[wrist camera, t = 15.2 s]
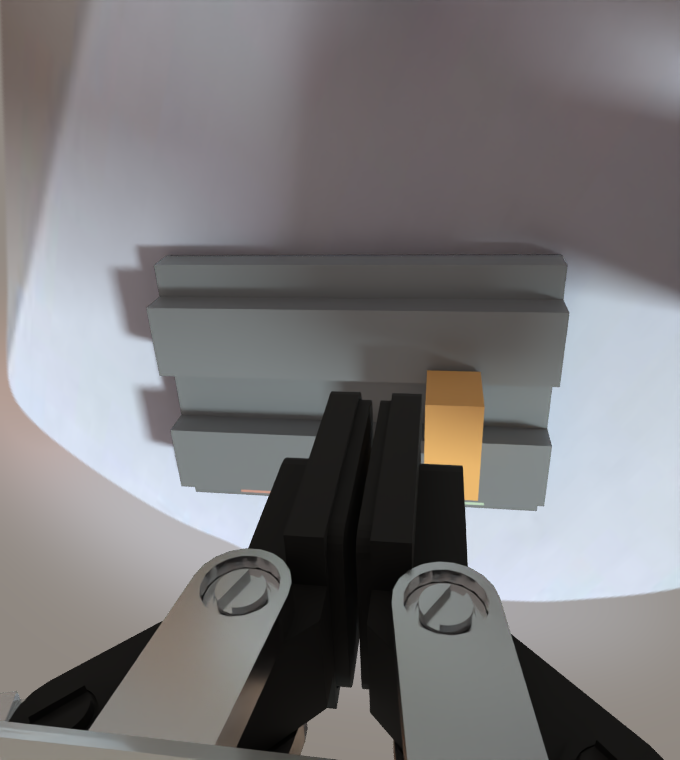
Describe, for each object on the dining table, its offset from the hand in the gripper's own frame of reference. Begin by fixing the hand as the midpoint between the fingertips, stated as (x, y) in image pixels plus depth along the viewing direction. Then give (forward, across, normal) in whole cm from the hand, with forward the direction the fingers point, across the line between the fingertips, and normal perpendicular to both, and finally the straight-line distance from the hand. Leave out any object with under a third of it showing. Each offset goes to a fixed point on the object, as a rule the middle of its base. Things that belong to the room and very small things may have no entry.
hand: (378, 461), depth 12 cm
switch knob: (+25, -2, +12) cm, 28 cm away
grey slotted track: (+27, +4, +12) cm, 30 cm away
